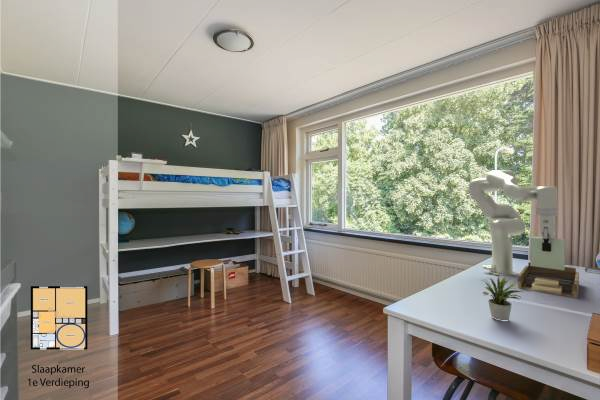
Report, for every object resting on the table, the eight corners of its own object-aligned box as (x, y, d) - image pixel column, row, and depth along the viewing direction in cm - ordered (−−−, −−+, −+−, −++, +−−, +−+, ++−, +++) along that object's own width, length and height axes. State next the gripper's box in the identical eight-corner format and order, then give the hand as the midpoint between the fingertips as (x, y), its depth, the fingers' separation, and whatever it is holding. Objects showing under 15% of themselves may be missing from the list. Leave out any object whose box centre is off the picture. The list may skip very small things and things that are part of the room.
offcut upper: (558, 288, 123) (558, 283, 123) (534, 284, 129) (534, 279, 129) (559, 286, 126) (558, 280, 126) (536, 282, 132) (536, 277, 132)
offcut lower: (561, 295, 122) (561, 289, 122) (531, 290, 129) (531, 284, 129) (562, 291, 126) (562, 286, 126) (533, 287, 133) (533, 281, 133)
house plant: (491, 328, 96) (490, 281, 95) (467, 312, 109) (466, 271, 109) (532, 327, 96) (531, 280, 95) (503, 311, 110) (502, 270, 109)
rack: (577, 300, 118) (577, 279, 118) (518, 290, 132) (517, 271, 132) (579, 286, 135) (578, 268, 135) (526, 278, 150) (526, 261, 149)
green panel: (564, 270, 127) (564, 240, 127) (530, 265, 136) (530, 237, 135) (564, 269, 129) (564, 239, 129) (531, 264, 138) (531, 236, 137)
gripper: (556, 213, 123) (556, 254, 124) (559, 211, 135) (559, 249, 135) (534, 213, 129) (534, 252, 129) (538, 210, 140) (538, 247, 140)
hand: (547, 250), depth 132 cm, fingers closed on green panel, 3 cm apart
